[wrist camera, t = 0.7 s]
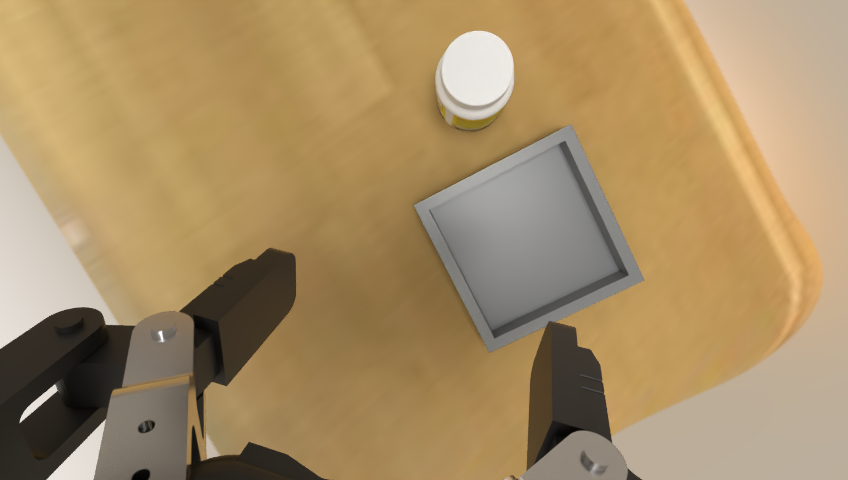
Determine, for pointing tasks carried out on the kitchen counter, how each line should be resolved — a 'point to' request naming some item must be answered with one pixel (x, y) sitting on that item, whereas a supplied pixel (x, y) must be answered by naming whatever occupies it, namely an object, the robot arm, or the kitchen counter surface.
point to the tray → (529, 239)
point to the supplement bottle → (474, 80)
